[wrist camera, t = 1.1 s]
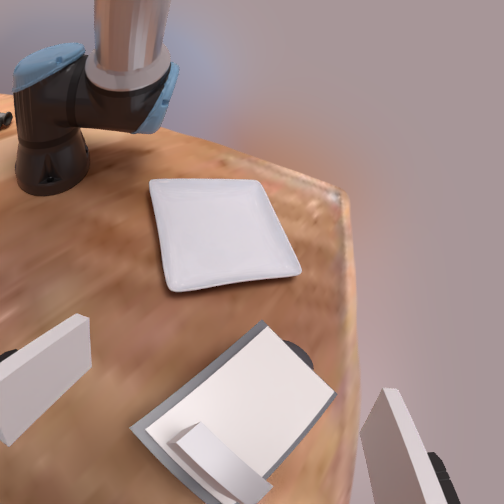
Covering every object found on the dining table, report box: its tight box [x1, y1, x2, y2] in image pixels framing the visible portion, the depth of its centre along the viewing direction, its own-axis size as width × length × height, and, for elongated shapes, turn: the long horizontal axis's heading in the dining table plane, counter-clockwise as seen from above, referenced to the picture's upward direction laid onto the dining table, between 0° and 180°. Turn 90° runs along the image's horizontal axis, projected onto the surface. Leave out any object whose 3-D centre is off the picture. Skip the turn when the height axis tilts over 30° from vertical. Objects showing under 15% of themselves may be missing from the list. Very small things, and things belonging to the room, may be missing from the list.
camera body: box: [130, 320, 337, 504], centre depth 30 cm, size 20×12×9 cm, turn 137°
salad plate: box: [149, 179, 302, 292], centre depth 49 cm, size 21×21×3 cm
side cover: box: [145, 326, 334, 504], centre depth 22 cm, size 16×10×10 cm, turn 137°
